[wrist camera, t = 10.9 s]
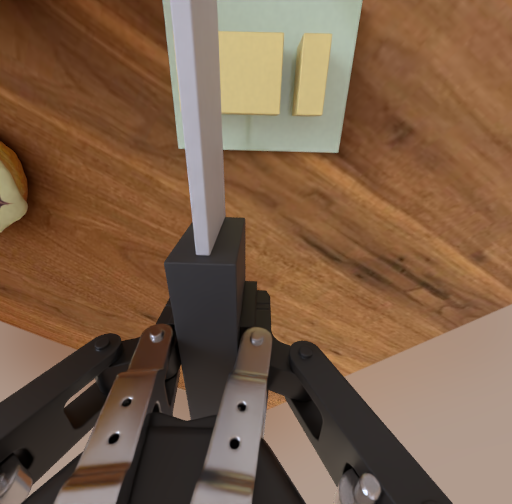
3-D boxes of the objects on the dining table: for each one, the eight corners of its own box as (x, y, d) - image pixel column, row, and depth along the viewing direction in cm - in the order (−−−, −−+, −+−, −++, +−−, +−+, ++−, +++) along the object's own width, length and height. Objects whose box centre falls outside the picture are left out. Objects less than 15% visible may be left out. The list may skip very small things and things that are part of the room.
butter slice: (313, 116, 21) (322, 115, 18) (291, 115, 21) (296, 114, 18) (321, 47, 19) (333, 33, 16) (297, 47, 19) (303, 32, 16)
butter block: (277, 115, 21) (279, 114, 18) (192, 113, 21) (180, 112, 18) (280, 46, 19) (284, 32, 16) (187, 44, 19) (172, 29, 16)
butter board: (335, 151, 23) (338, 152, 22) (181, 147, 23) (178, 148, 22) (358, 4, 18) (363, -2, 18) (166, 0, 19) (161, -6, 18)
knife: (244, -153, 7) (221, -496, 3) (245, 349, 16) (239, 423, 12) (160, -153, 7) (31, -495, 3) (208, 348, 16) (190, 421, 12)
